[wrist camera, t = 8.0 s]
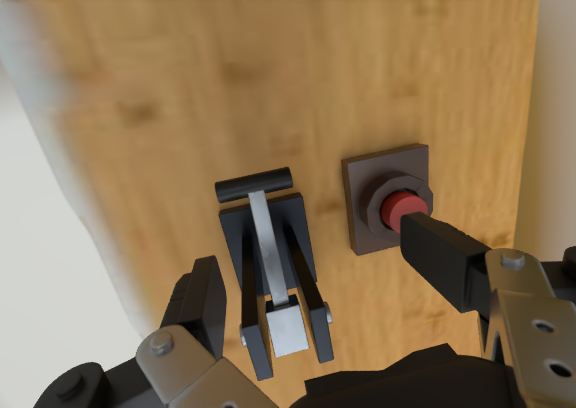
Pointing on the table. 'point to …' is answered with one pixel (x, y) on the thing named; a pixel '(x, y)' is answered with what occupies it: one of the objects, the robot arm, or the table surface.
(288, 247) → the switch bracket
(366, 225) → the button block
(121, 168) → the table surface
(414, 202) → the button
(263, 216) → the switch lever
